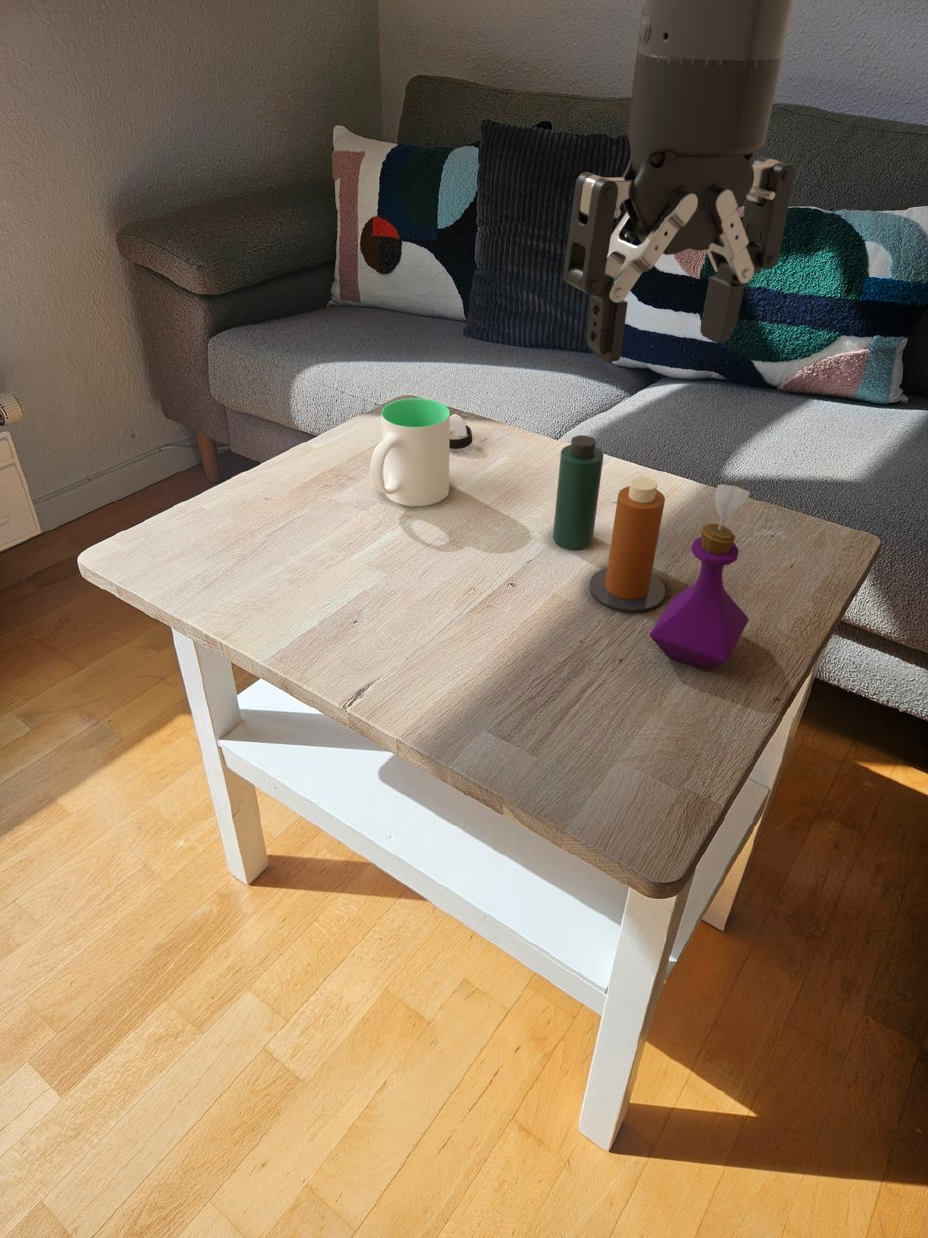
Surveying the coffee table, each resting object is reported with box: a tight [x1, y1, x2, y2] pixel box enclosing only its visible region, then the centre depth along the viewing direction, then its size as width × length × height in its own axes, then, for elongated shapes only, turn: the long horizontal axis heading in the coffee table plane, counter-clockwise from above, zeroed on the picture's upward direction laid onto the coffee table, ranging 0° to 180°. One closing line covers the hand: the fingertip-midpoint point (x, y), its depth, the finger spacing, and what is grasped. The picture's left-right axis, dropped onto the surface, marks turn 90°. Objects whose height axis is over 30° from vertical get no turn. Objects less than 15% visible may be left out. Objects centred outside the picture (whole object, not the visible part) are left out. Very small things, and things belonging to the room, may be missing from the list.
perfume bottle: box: [649, 484, 751, 672], centre depth 79 cm, size 8×8×18 cm
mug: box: [369, 397, 451, 507], centre depth 104 cm, size 12×8×10 cm, turn 149°
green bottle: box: [552, 434, 604, 551], centre depth 97 cm, size 5×5×12 cm
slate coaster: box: [588, 566, 666, 613], centre depth 93 cm, size 8×8×1 cm
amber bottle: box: [605, 476, 666, 599], centre depth 89 cm, size 5×5×12 cm
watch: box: [449, 413, 473, 450], centre depth 119 cm, size 8×5×4 cm, turn 43°
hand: (661, 347), depth 56 cm, fingers open, 8 cm apart
